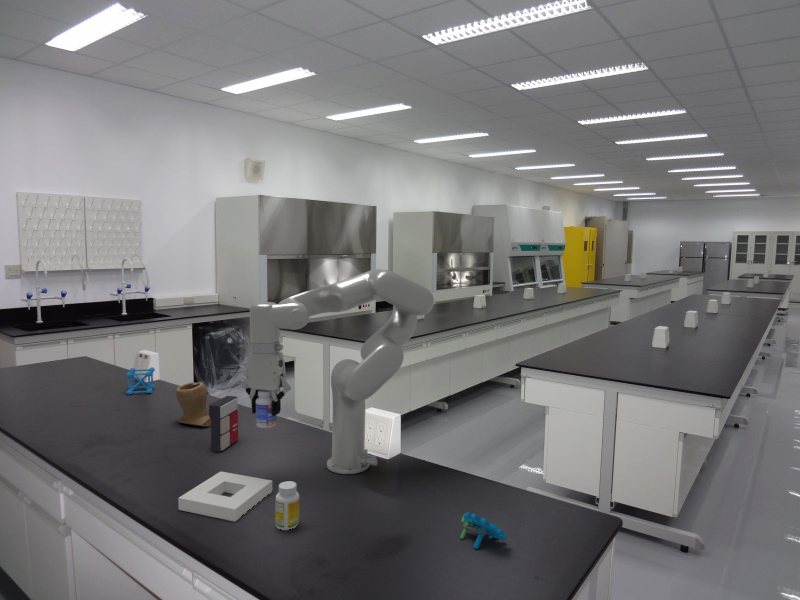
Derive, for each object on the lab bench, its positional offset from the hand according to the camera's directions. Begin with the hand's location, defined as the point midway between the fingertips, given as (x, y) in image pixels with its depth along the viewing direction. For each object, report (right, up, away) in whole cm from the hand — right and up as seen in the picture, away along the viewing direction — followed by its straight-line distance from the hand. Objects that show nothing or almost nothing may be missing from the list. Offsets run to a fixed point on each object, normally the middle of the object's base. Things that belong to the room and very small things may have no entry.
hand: (266, 412), depth 140 cm
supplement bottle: (+11, -21, -22) cm, 32 cm away
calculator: (-20, -16, +24) cm, 35 cm away
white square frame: (-7, -20, -11) cm, 24 cm away
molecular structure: (-76, -10, +83) cm, 113 cm away
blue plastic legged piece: (+55, -23, -27) cm, 65 cm away
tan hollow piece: (-36, -14, +44) cm, 59 cm away
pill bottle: (0, -4, 0) cm, 4 cm away
